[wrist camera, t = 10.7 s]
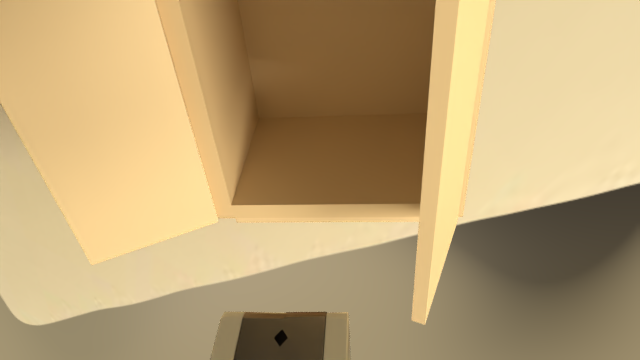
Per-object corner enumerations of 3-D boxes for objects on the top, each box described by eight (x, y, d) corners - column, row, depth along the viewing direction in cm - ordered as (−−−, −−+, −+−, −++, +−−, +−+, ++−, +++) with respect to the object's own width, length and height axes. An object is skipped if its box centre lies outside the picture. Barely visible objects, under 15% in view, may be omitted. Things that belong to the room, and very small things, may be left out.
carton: (472, -213, 23) (528, -214, 15) (439, 127, 35) (461, 223, 27) (187, -186, 24) (105, -174, 16) (250, 131, 36) (219, 224, 28)
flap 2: (515, -182, 15) (476, -158, 10) (457, 221, 26) (424, 324, 21) (496, -181, 15) (447, -157, 10) (446, 218, 26) (411, 320, 21)
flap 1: (112, -147, 17) (-124, -119, 15) (218, 221, 28) (91, 265, 26) (111, -148, 17) (-119, -121, 15) (215, 215, 28) (91, 257, 26)
